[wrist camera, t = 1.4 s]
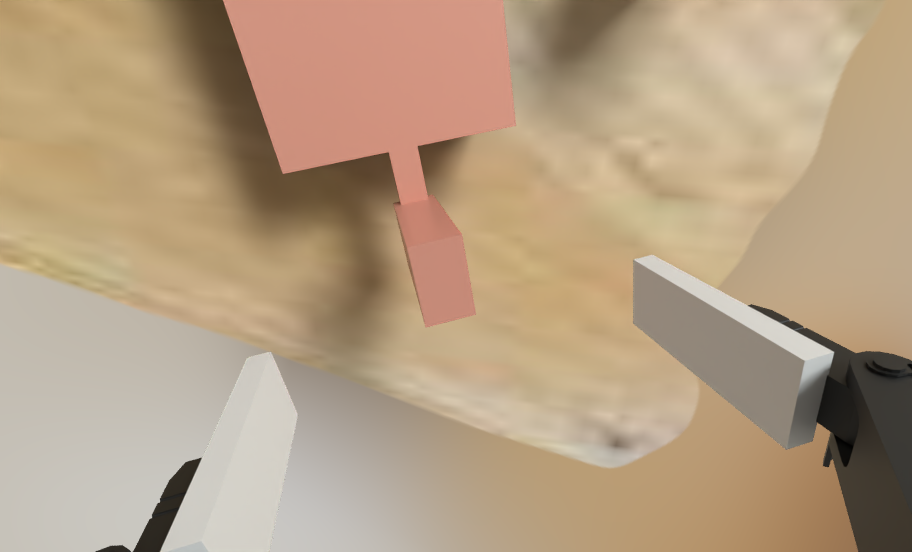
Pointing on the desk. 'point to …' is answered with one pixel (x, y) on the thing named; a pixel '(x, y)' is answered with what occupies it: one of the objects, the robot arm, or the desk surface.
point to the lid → (383, 103)
